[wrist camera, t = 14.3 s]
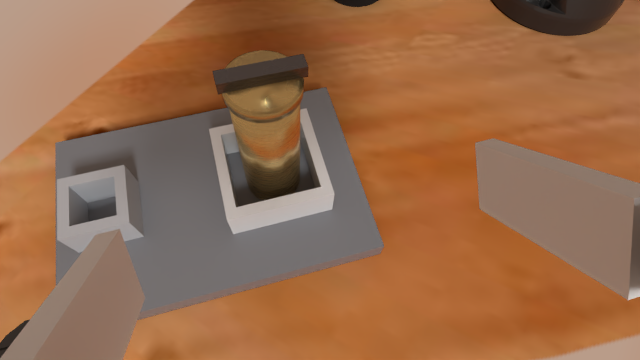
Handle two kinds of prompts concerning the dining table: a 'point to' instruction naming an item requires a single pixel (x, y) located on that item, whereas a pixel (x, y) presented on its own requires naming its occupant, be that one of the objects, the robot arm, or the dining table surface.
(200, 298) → the board
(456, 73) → the dining table surface
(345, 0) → the caster wheel
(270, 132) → the amber translucent cylinder
